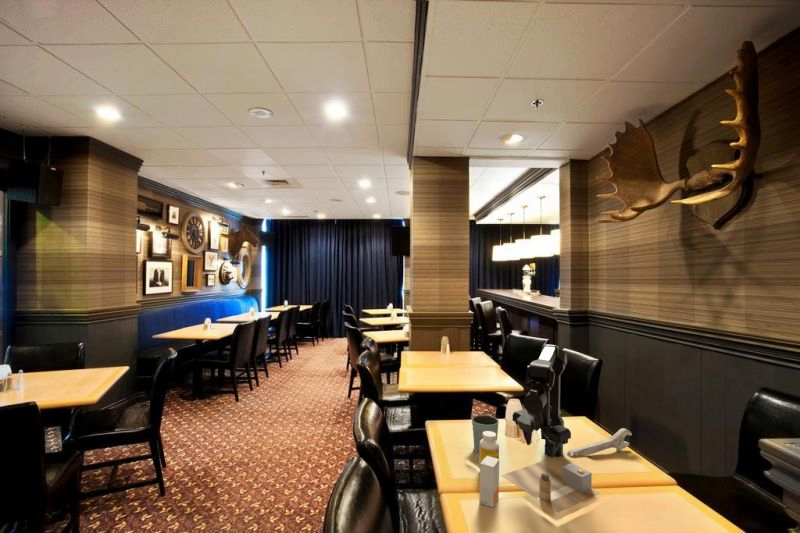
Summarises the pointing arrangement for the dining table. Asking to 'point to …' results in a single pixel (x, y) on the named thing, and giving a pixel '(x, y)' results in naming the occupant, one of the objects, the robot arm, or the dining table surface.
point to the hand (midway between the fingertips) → (540, 450)
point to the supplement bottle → (488, 446)
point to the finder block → (577, 477)
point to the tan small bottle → (545, 488)
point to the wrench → (604, 444)
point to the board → (560, 491)
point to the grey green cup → (483, 428)
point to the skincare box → (489, 481)
